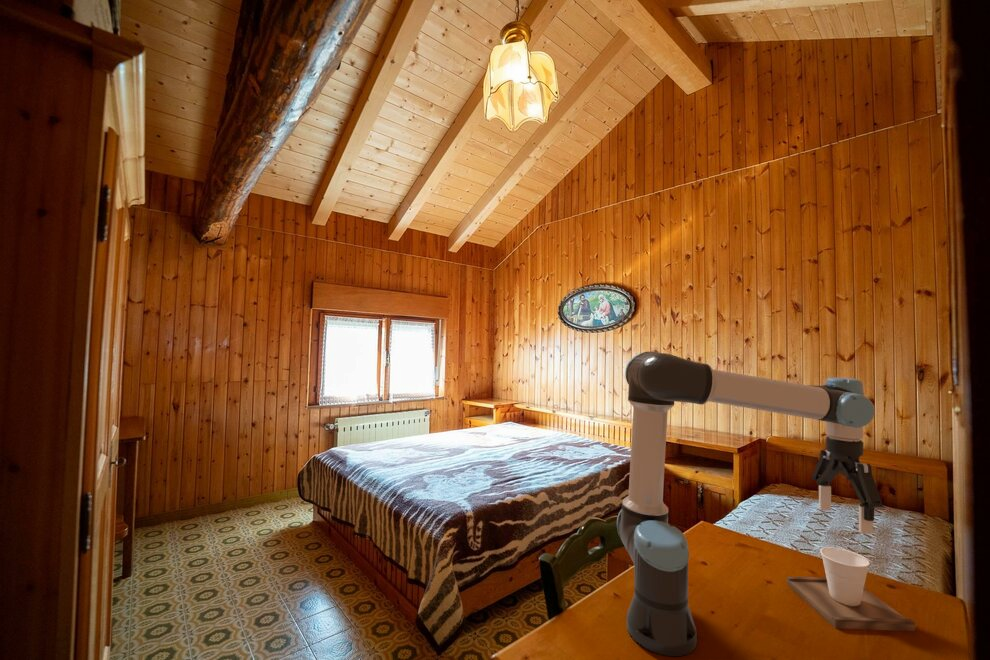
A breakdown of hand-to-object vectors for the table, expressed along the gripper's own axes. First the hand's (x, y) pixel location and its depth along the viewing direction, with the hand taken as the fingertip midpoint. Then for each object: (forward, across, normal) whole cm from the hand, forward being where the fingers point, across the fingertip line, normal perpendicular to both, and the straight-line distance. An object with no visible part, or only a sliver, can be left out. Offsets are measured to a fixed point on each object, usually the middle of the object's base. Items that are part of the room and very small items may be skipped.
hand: (844, 520), depth 110 cm
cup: (+20, 0, 0) cm, 20 cm away
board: (+22, 0, 0) cm, 22 cm away
